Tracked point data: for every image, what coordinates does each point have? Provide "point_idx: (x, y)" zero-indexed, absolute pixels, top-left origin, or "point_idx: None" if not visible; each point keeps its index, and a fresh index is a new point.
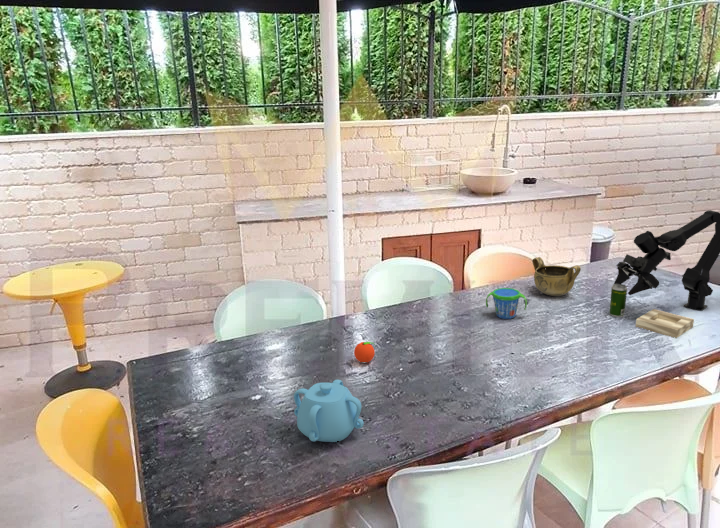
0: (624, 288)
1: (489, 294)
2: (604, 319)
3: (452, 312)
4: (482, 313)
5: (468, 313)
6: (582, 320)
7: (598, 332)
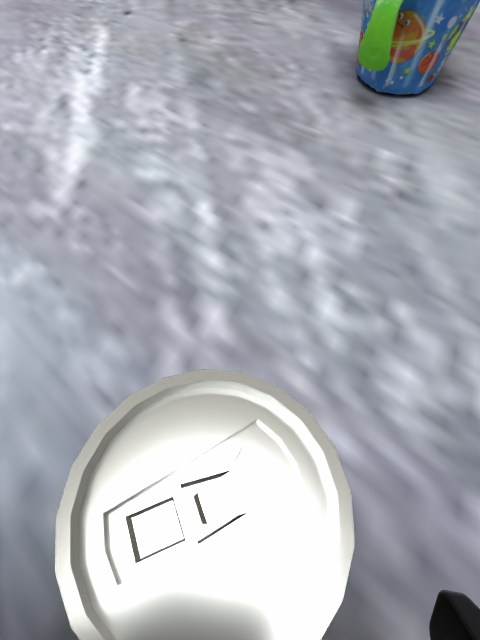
0: (72, 518)
1: None
2: None
3: None
4: None
5: None
6: (241, 264)
7: (79, 239)
